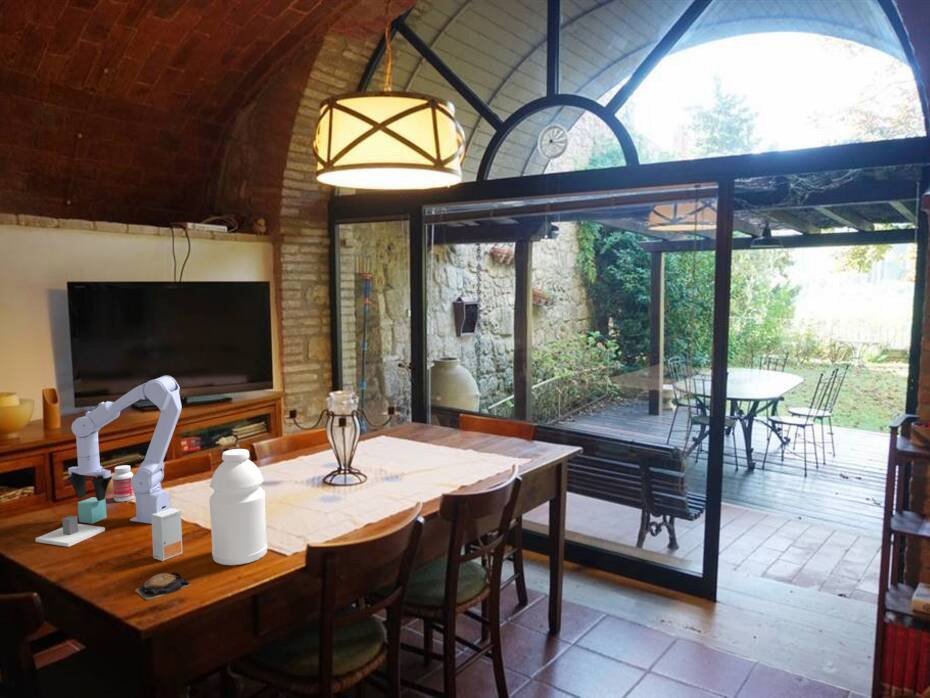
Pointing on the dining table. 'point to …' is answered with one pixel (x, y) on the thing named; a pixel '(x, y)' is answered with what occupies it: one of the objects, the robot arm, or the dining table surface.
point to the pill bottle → (123, 484)
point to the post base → (70, 538)
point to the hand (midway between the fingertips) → (91, 498)
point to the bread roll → (161, 585)
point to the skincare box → (166, 534)
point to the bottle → (237, 510)
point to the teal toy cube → (91, 510)
